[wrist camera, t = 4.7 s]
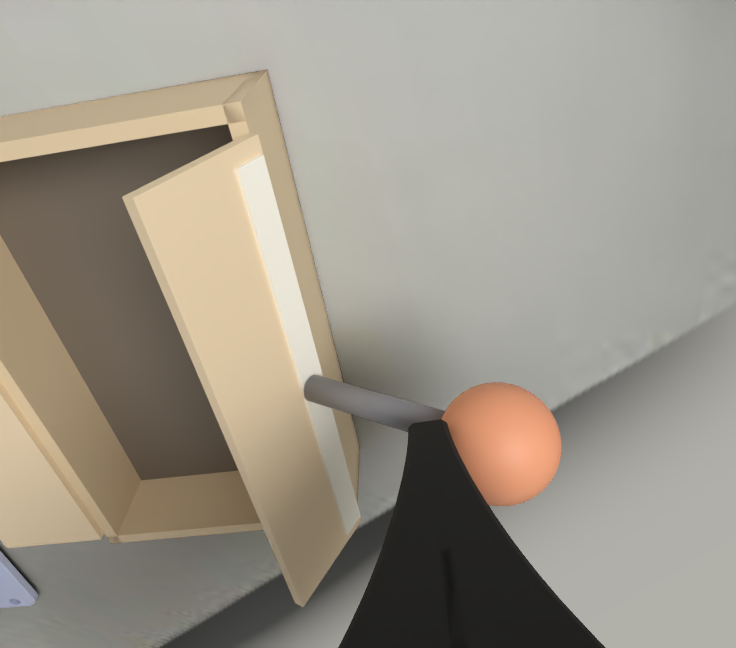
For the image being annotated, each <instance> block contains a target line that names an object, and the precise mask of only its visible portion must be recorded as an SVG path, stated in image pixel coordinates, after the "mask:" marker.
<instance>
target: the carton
mask: <svg viewBox="0 0 736 648" xmlns="http://www.w3.org/2000/svg"><path fill="white" fill-rule="evenodd" d="M246 134H258V136H259V140H260V143H261V147H262V151H263V155H264V158H265V162H266V166H267V169H268V173H269V177H270V180H271V184H272V188H273V192H274V195H275V199H276V203H277V207H278V210H279V214H280V218H281V221H282V225H283V229H284V233H285V236H286V240H287V244H288V248H289V251H290V255H291V259H292V262H293V266H294V270H295V274H296V277H297V281H298V285H299V288H300V292H301V296H302V300H303V303H304V307H305V311H306V315H307V318H308V322H309V326H310V329H311V333H312V337H313V341H314V344H315V348H316V352H317V355H318V359H319V363H320V367H321V370H322V374H323V377H325V378H329V379H332V380H336V381H339V382H343V383H344V381H343V377H342V373H341V369H340V365H339V361H338V357H337V353H336V349H335V345H334V340H333V336H332V332H331V328H330V324H329V320H328V316H327V312H326V308H325V304H324V300H323V295H322V291H321V287H320V283H319V279H318V275H317V271H316V267H315V263H314V259H313V255H312V250H311V246H310V242H309V238H308V234H307V230H306V226H305V222H304V218H303V214H302V210H301V205H300V201H299V197H298V193H297V189H296V185H295V181H294V177H293V173H292V169H291V164H290V160H289V156H288V152H287V148H286V144H285V140H284V136H283V132H282V128H281V124H280V119H279V115H278V111H277V107H276V103H275V99H274V95H273V91H272V87H271V83H270V79H269V74H268V70H262V71H256V72H250V73H245V74H239V75H233V76H228V77H222V78H217V79H211V80H205V81H200V82H194V83H188V84H183V85H177V86H171V87H166V88H160V89H154V90H149V91H143V92H137V93H132V94H126V95H121V96H115V97H109V98H104V99H98V100H92V101H87V102H81V103H75V104H70V105H64V106H58V107H53V108H47V109H41V110H36V111H30V112H25V113H19V114H13V115H8V116H2V117H0V540H1V541H2V543H3V544H4V545H5V546H6V547H7V548H14V547H25V546H36V545H47V544H58V543H69V542H80V541H91V540H102V537H103V535H104V534H105V535H106V537H107V538H108V540H109V541H110V542H111V544H112V543H124V542H135V541H146V540H157V539H168V538H180V537H191V536H202V535H213V534H224V533H236V532H247V531H258V530H264V529H263V526H262V524H261V522H260V519H259V517H258V515H257V512H256V510H255V508H254V505H253V503H252V501H251V498H250V496H249V494H248V491H247V489H246V487H245V484H244V482H243V480H242V477H241V475H240V473H239V470H238V468H237V466H236V463H235V461H234V459H233V456H232V454H231V452H230V449H229V447H228V445H227V442H226V440H225V437H224V435H223V433H222V430H221V428H220V426H219V423H218V421H217V419H216V416H215V414H214V412H213V409H212V407H211V405H210V402H209V400H208V398H207V395H206V393H205V391H204V388H203V386H202V384H201V381H200V379H199V377H198V374H197V372H196V370H195V367H194V365H193V363H192V360H191V358H190V356H189V353H188V351H187V348H186V346H185V344H184V341H183V339H182V337H181V334H180V332H179V330H178V327H177V325H176V323H175V320H174V318H173V316H172V313H171V311H170V309H169V306H168V304H167V302H166V299H165V297H164V295H163V292H162V290H161V288H160V285H159V283H158V281H157V278H156V276H155V274H154V271H153V269H152V266H151V264H150V262H149V259H148V257H147V255H146V252H145V250H144V248H143V245H142V243H141V241H140V238H139V236H138V234H137V231H136V229H135V227H134V224H133V222H132V220H131V217H130V215H129V213H128V210H127V208H126V206H125V203H124V201H123V199H122V197H123V196H125V195H127V194H129V193H131V192H133V191H135V190H137V189H139V188H140V187H142V186H144V185H146V184H148V183H150V182H152V181H154V180H156V179H158V178H160V177H162V176H164V175H166V174H168V173H170V172H172V171H174V170H176V169H178V168H180V167H182V166H184V165H186V164H188V163H190V162H192V161H194V160H196V159H198V158H200V157H202V156H204V155H206V154H208V153H210V152H212V151H214V150H216V149H218V148H220V147H222V146H224V145H226V144H228V143H230V142H232V141H234V140H236V139H238V138H240V137H242V136H244V135H246ZM332 411H333V415H334V419H335V422H336V426H337V430H338V434H339V437H340V441H341V445H342V449H343V452H344V456H345V460H346V463H347V467H348V471H349V475H350V478H351V482H352V486H353V489H354V493H355V497H356V501H357V504H358V482H359V456H360V447H359V443H358V439H357V435H356V431H355V426H354V422H353V418H352V414H349V413H345V412H342V411H339V410H336V409H333V408H332Z"/></svg>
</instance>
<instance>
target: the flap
mask: <svg viewBox="0 0 736 648" xmlns="http://www.w3.org/2000/svg"><path fill="white" fill-rule="evenodd" d="M122 199H123V201H124V203H125V206H126V208H127V210H128V213H129V215H130V217H131V220H132V222H133V224H134V227H135V229H136V231H137V234H138V236H139V238H140V241H141V243H142V245H143V248H144V250H145V252H146V255H147V257H148V259H149V262H150V264H151V266H152V269H153V271H154V274H155V276H156V278H157V281H158V283H159V285H160V288H161V290H162V292H163V295H164V297H165V299H166V302H167V304H168V306H169V309H170V311H171V313H172V316H173V318H174V320H175V323H176V325H177V327H178V330H179V332H180V334H181V337H182V339H183V341H184V344H185V346H186V348H187V351H188V353H189V356H190V358H191V360H192V363H193V365H194V367H195V370H196V372H197V374H198V377H199V379H200V381H201V384H202V386H203V388H204V391H205V393H206V395H207V398H208V400H209V402H210V405H211V407H212V409H213V412H214V414H215V416H216V419H217V421H218V423H219V426H220V428H221V430H222V433H223V435H224V437H225V440H226V442H227V445H228V447H229V449H230V452H231V454H232V456H233V459H234V461H235V463H236V466H237V468H238V470H239V473H240V475H241V477H242V480H243V482H244V484H245V487H246V489H247V491H248V494H249V496H250V498H251V501H252V503H253V505H254V508H255V510H256V512H257V515H258V517H259V519H260V522H261V524H262V526H263V529H264V531H265V534H266V536H267V538H268V541H269V543H270V545H271V548H272V550H273V552H274V555H275V557H276V559H277V562H278V564H279V566H280V569H281V571H282V573H283V576H284V578H285V580H286V582H287V585H288V587H289V590H290V592H291V594H292V597H293V599H294V601H295V603H296V604H298V605H300V606H302V607H304V605H305V604H306V602H307V601H308V599H309V598H310V596H311V595H312V593H313V592H314V590H315V589H316V587H317V586H318V584H319V583H320V581H321V580H322V578H323V577H324V576H325V574H326V572H327V571H328V570H329V568H330V566H331V565H332V564H333V562H334V561H335V559H336V558H337V556H338V555H339V553H340V552H341V550H342V549H343V547H344V546H345V544H346V543H347V541H348V540H349V538H350V537H351V535H352V534H353V532H354V531H355V529H356V528H357V526H358V525H359V523H360V522H361V520H362V519H361V516H360V512H359V508H358V504H357V501H356V497H355V493H354V489H353V486H352V482H351V478H350V475H349V471H348V467H347V463H346V460H345V456H344V452H343V449H342V445H341V441H340V437H339V434H338V430H337V426H336V422H335V419H334V415H333V411H332V408H333V409H336V410H339V411H342V412H345V413H349V414H352V415H355V416H358V417H361V418H365V419H368V420H371V421H374V422H377V423H380V424H384V425H387V426H390V427H393V428H396V429H400V430H403V431H406V432H408V428H409V427H410V426H411V425H412V424H413V423H418V422H425V421H432V420H440V419H442V420H443V421H445V422H447V424H448V428H449V431H450V434H451V436H452V439H453V441H454V444H455V446H456V448H457V450H458V453H459V455H460V457H461V459H462V461H463V463H464V464H465V466H466V468H467V470H468V472H469V474H470V476H471V477H472V479H473V481H474V482H475V484H476V486H477V487H478V489H479V491H480V492H481V494H482V496H483V497H484V499H485V501H486V502H487V504H488V505H493V506H510V505H516V504H520V503H523V502H525V501H528V500H530V499H532V498H533V497H535V496H536V495H538V494H539V493H540V492H541V491H543V490H544V489H545V488H546V486H547V485H548V484H549V483H550V482H551V480H552V479H553V477H554V475H555V473H556V471H557V468H558V465H559V462H560V457H561V437H560V432H559V429H558V426H557V423H556V421H555V419H554V417H553V415H552V413H551V412H550V410H549V409H548V408H547V406H546V405H545V404H544V403H543V402H542V401H541V400H540V399H539V398H538V397H536V396H535V395H534V394H532V393H531V392H529V391H527V390H525V389H523V388H521V387H519V386H516V385H512V384H507V383H496V382H494V383H485V384H481V385H477V386H475V387H472V388H470V389H468V390H466V391H465V392H463V393H462V394H460V395H459V396H458V397H457V398H455V399H454V401H453V402H452V403H451V404H450V405H449V406H448V408H447V409H446V411H443V410H439V409H435V408H432V407H428V406H425V405H421V404H418V403H414V402H410V401H407V400H403V399H400V398H396V397H393V396H389V395H386V394H382V393H378V392H375V391H371V390H368V389H364V388H361V387H357V386H354V385H350V384H346V383H343V382H339V381H336V380H332V379H329V378H325V377H323V374H322V370H321V367H320V363H319V359H318V355H317V352H316V348H315V344H314V341H313V337H312V333H311V329H310V326H309V322H308V318H307V315H306V311H305V307H304V303H303V300H302V296H301V292H300V288H299V285H298V281H297V277H296V274H295V270H294V266H293V262H292V259H291V255H290V251H289V248H288V244H287V240H286V236H285V233H284V229H283V225H282V221H281V218H280V214H279V210H278V207H277V203H276V199H275V195H274V192H273V188H272V184H271V180H270V177H269V173H268V169H267V166H266V162H265V158H264V155H263V151H262V147H261V143H260V140H259V136H258V134H246V135H244V136H242V137H240V138H238V139H236V140H234V141H232V142H230V143H228V144H226V145H224V146H222V147H220V148H218V149H216V150H214V151H212V152H210V153H208V154H206V155H204V156H202V157H200V158H198V159H196V160H194V161H192V162H190V163H188V164H186V165H184V166H182V167H180V168H178V169H176V170H174V171H172V172H170V173H168V174H166V175H164V176H162V177H160V178H158V179H156V180H154V181H152V182H150V183H148V184H146V185H144V186H142V187H140V188H139V189H137V190H135V191H133V192H131V193H129V194H127V195H125V196H123V197H122Z"/></svg>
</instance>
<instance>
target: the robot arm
mask: <svg viewBox="0 0 736 648" xmlns="http://www.w3.org/2000/svg"><path fill="white" fill-rule="evenodd" d="M37 598H38V594H37V592H36V591H35V590H34V589H33V588H32V587H31V585H30V584H29V583H28V582H27V581H26V580H25V578H24V577H23V576H22V575H21V574H20V573H19V572H18V570H17V569H16V568H15V567H14V566H13V565H12V564H11V562H10V561H9V560H8V559H7V558H6V557H5V556H4V554H3V553H2V552H1V551H0V608H7V607H20V606H30V605H33V604H34V603H35V602H36V600H37ZM338 648H605V647H604V646H603V645H602V644H601V643H600V642H599V641H598V640H597V638H595V636H594V635H593V634H592V633H591V632H590V631H589V630H588V629H587V628H586V627H585V626H584V625H583V623H581V621H580V620H579V619H578V618H577V617H576V616H575V615H574V614H573V613H572V612H571V611H570V610H569V609H568V607H567V606H566V605H565V604H564V603H563V602H562V601H561V600H560V599H559V598H558V596H557V595H556V594H555V593H554V592H553V590H552V589H551V588H550V587H549V586H548V585H547V583H546V582H545V581H544V580H543V579H542V578H541V576H539V574H538V573H537V571H536V570H535V569H534V568H533V566H532V565H531V564H530V563H529V561H528V560H527V559H526V558H525V556H524V555H523V554H522V552H521V551H520V550H519V548H518V547H517V546H516V545H515V543H514V542H513V540H512V539H511V538H510V536H509V535H508V533H507V532H506V530H505V529H504V528H503V526H502V525H501V523H500V522H499V521H498V519H497V518H496V516H495V515H494V513H493V512H492V510H491V509H490V507H489V505H488V504H487V502H486V501H485V499H484V497H483V496H482V494H481V492H480V491H479V489H478V487H477V486H476V484H475V482H474V481H473V479H472V477H471V476H470V474H469V472H468V470H467V468H466V466H465V464H464V463H463V461H462V459H461V457H460V455H459V453H458V450H457V448H456V446H455V444H454V441H453V439H452V436H451V434H450V431H449V428H448V424H447V422H445V421H443V420H442V419H440V420H432V421H425V422H418V423H413V424H412V425H411V426H410V427H409V428H408V447H407V455H406V461H405V466H404V472H403V477H402V481H401V485H400V489H399V493H398V497H397V501H396V505H395V509H394V513H393V516H392V519H391V522H390V525H389V528H388V532H387V535H386V538H385V541H384V544H383V547H382V550H381V552H380V555H379V558H378V561H377V563H376V566H375V568H374V571H373V574H372V576H371V579H370V581H369V583H368V586H367V588H366V590H365V593H364V595H363V598H362V600H361V602H360V604H359V606H358V608H357V611H356V613H355V615H354V617H353V619H352V621H351V624H350V626H349V628H348V630H347V632H346V634H345V636H344V638H343V640H342V642H341V644H340V646H339V647H338Z"/></svg>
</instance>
